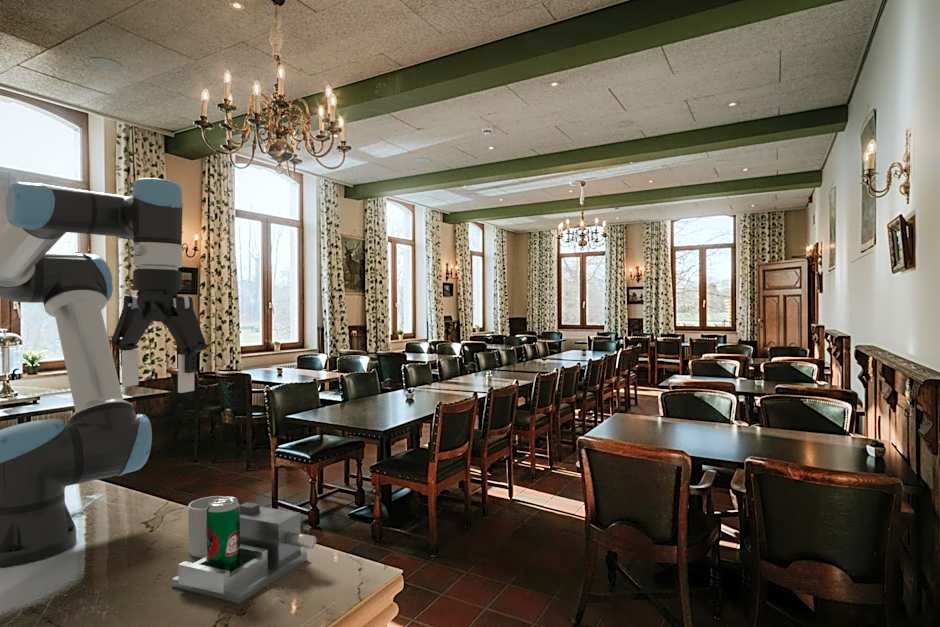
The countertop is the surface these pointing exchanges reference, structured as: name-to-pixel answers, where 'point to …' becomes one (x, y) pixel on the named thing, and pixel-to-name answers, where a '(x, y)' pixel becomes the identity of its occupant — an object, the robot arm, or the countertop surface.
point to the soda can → (223, 533)
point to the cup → (198, 526)
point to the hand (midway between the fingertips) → (157, 388)
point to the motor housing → (251, 556)
